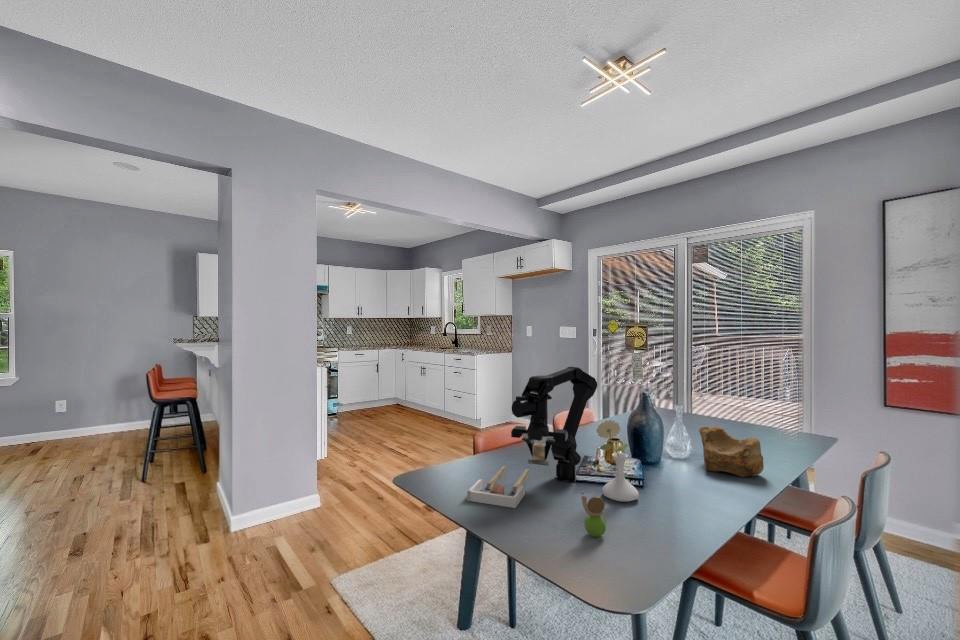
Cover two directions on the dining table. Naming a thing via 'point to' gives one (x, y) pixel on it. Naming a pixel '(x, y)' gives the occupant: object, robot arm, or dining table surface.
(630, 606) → the dining table surface
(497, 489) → the chip
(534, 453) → the scraper
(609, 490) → the flower in vase
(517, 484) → the channel
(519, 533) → the dining table surface
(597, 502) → the snail figurine
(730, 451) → the rough brown rock
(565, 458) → the robot arm
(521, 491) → the tray
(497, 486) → the brown cube
